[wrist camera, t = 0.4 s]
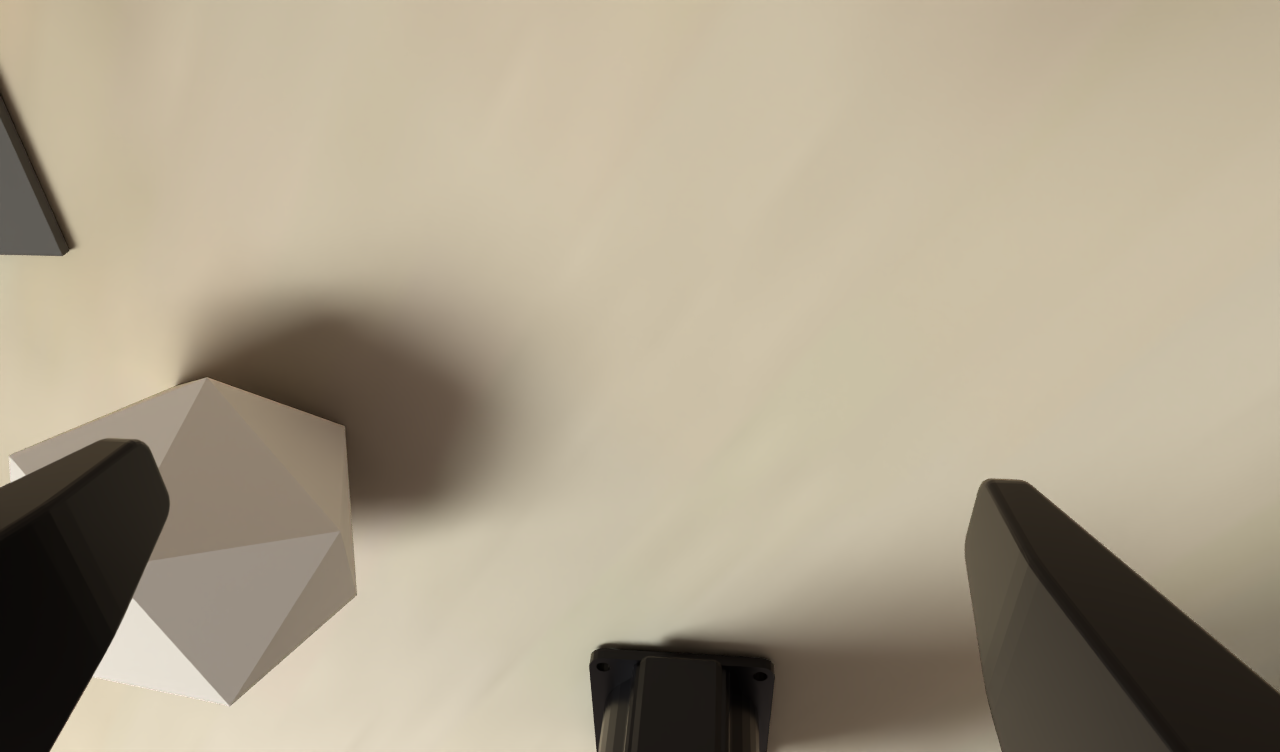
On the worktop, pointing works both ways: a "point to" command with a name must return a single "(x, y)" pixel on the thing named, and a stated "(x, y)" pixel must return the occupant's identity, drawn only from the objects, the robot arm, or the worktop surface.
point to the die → (226, 537)
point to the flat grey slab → (23, 201)
